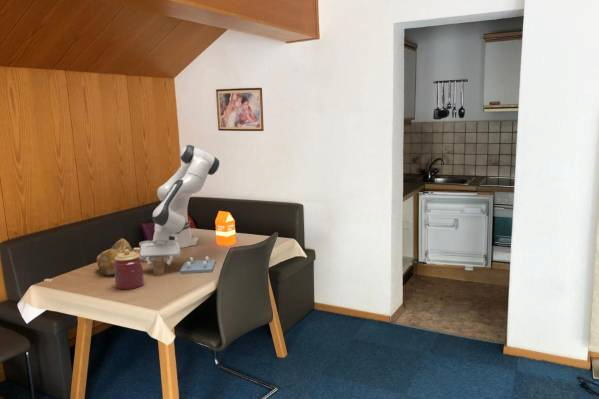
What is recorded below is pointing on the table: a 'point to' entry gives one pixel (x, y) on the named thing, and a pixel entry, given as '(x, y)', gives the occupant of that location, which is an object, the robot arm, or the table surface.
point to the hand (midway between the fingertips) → (159, 265)
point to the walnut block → (158, 266)
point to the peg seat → (198, 266)
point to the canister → (128, 270)
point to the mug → (140, 249)
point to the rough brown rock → (111, 256)
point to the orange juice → (225, 229)
